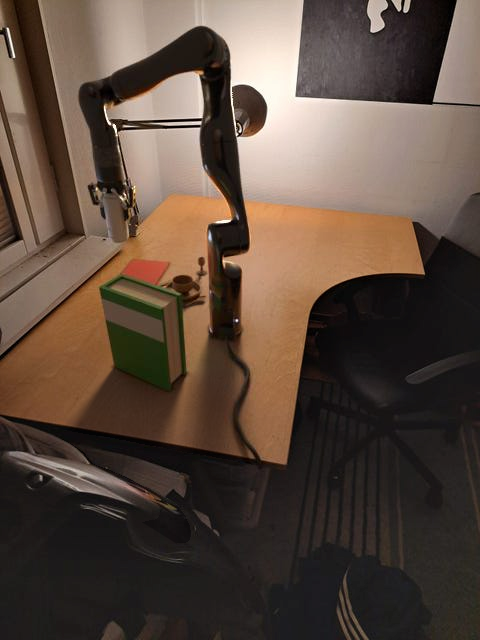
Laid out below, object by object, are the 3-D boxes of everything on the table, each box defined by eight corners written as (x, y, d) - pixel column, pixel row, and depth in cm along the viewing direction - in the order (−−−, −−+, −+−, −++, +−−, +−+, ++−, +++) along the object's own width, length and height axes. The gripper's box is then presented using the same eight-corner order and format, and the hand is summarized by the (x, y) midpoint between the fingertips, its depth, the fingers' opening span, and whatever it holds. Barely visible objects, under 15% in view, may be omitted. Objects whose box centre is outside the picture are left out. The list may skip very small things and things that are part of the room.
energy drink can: (111, 235, 133) (103, 188, 125) (130, 235, 134) (124, 188, 125) (107, 243, 128) (99, 195, 120) (128, 243, 129) (121, 195, 120)
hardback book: (186, 373, 108) (181, 293, 94) (169, 391, 103) (160, 309, 89) (133, 351, 115) (121, 273, 101) (114, 366, 110) (98, 287, 96)
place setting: (153, 287, 143) (152, 271, 140) (201, 270, 154) (201, 255, 150) (182, 309, 132) (181, 293, 129) (232, 289, 143) (232, 274, 139)
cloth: (152, 290, 141) (152, 289, 141) (112, 286, 143) (112, 285, 142) (169, 263, 157) (169, 262, 157) (133, 260, 159) (133, 259, 159)
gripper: (77, 164, 115) (88, 222, 125) (127, 167, 114) (135, 226, 124) (89, 157, 122) (98, 213, 131) (137, 160, 120) (143, 216, 130)
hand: (116, 219), depth 127 cm, fingers closed on energy drink can, 6 cm apart
